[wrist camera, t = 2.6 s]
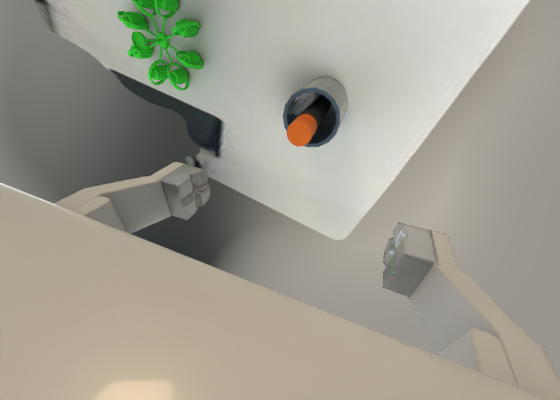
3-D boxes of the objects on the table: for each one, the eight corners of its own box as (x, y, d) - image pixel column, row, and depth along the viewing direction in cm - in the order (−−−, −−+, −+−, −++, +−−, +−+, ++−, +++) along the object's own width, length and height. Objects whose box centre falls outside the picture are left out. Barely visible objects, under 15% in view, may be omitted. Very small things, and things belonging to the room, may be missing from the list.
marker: (311, 110, 36) (284, 141, 26) (317, 92, 35) (289, 117, 24) (328, 115, 36) (307, 149, 25) (334, 97, 34) (314, 126, 24)
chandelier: (135, -45, 33) (88, -60, 28) (220, 16, 34) (191, 12, 29) (132, 59, 43) (97, 62, 38) (199, 105, 44) (174, 114, 38)
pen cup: (296, 118, 39) (278, 136, 32) (308, 70, 34) (290, 79, 27) (337, 132, 38) (327, 154, 31) (355, 85, 33) (349, 98, 26)
